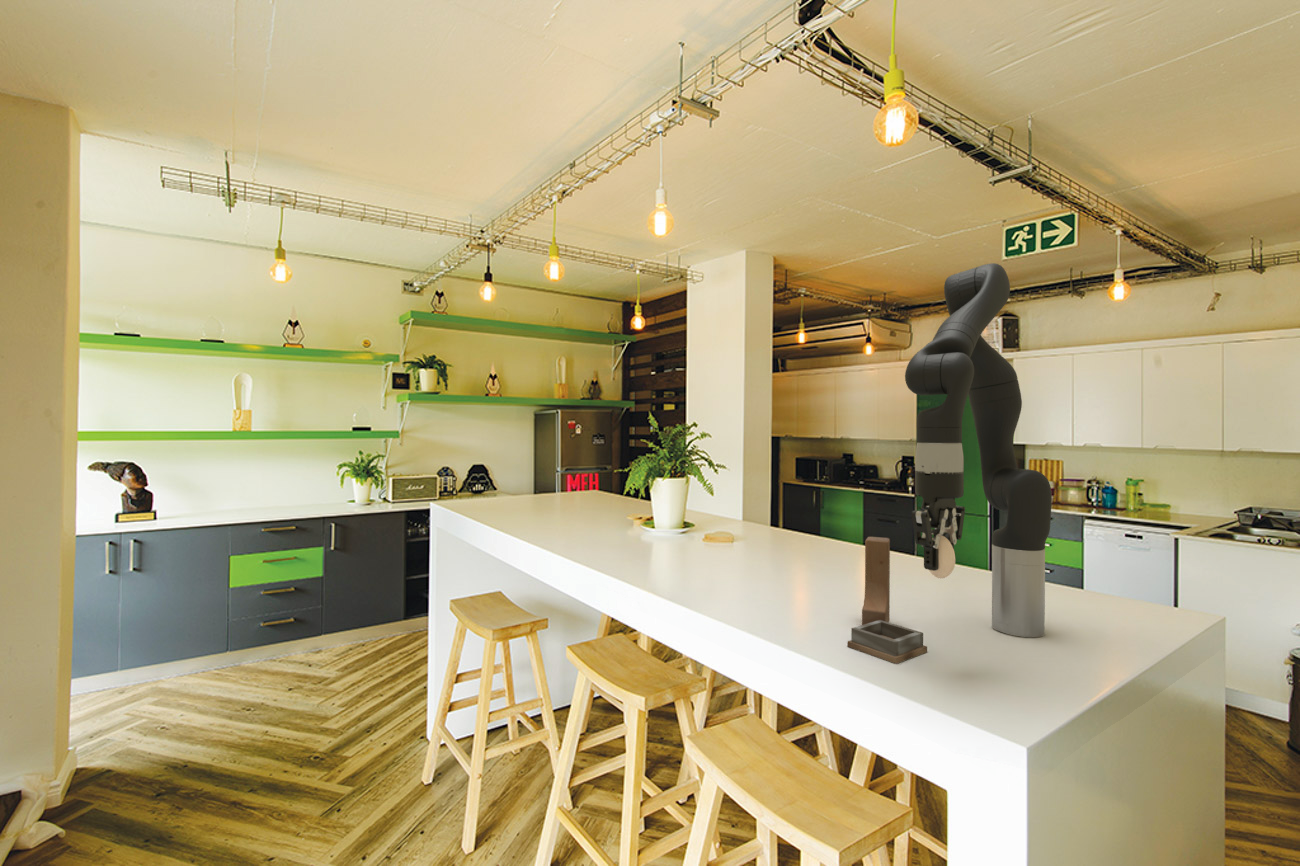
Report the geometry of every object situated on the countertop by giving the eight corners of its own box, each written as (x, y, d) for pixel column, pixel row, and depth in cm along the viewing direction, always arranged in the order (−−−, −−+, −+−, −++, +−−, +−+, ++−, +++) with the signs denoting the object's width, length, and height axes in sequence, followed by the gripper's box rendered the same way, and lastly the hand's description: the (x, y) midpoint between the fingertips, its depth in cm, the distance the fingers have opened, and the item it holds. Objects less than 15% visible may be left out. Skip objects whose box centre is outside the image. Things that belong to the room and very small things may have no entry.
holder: (878, 636, 116) (878, 618, 116) (927, 651, 108) (927, 632, 108) (847, 646, 110) (847, 628, 110) (896, 663, 102) (896, 643, 102)
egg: (958, 578, 101) (958, 535, 101) (950, 583, 97) (950, 538, 97) (930, 573, 104) (930, 532, 104) (921, 578, 101) (921, 535, 101)
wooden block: (885, 634, 117) (885, 544, 117) (861, 630, 119) (862, 542, 119) (889, 621, 125) (890, 537, 125) (867, 618, 127) (867, 536, 127)
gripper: (938, 466, 108) (938, 558, 108) (895, 469, 100) (895, 569, 100) (981, 468, 102) (981, 566, 102) (939, 471, 94) (939, 578, 94)
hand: (939, 567), depth 101 cm, fingers closed on egg, 4 cm apart
